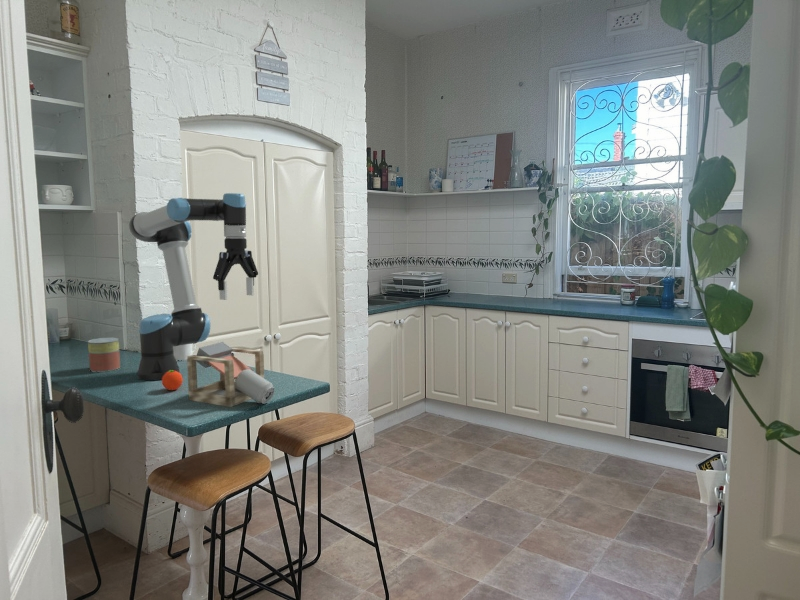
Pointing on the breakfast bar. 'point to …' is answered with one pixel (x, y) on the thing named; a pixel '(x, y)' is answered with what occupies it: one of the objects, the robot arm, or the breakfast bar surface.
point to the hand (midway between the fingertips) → (237, 297)
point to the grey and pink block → (220, 352)
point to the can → (254, 386)
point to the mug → (183, 351)
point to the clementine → (172, 380)
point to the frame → (224, 388)
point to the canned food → (104, 354)
